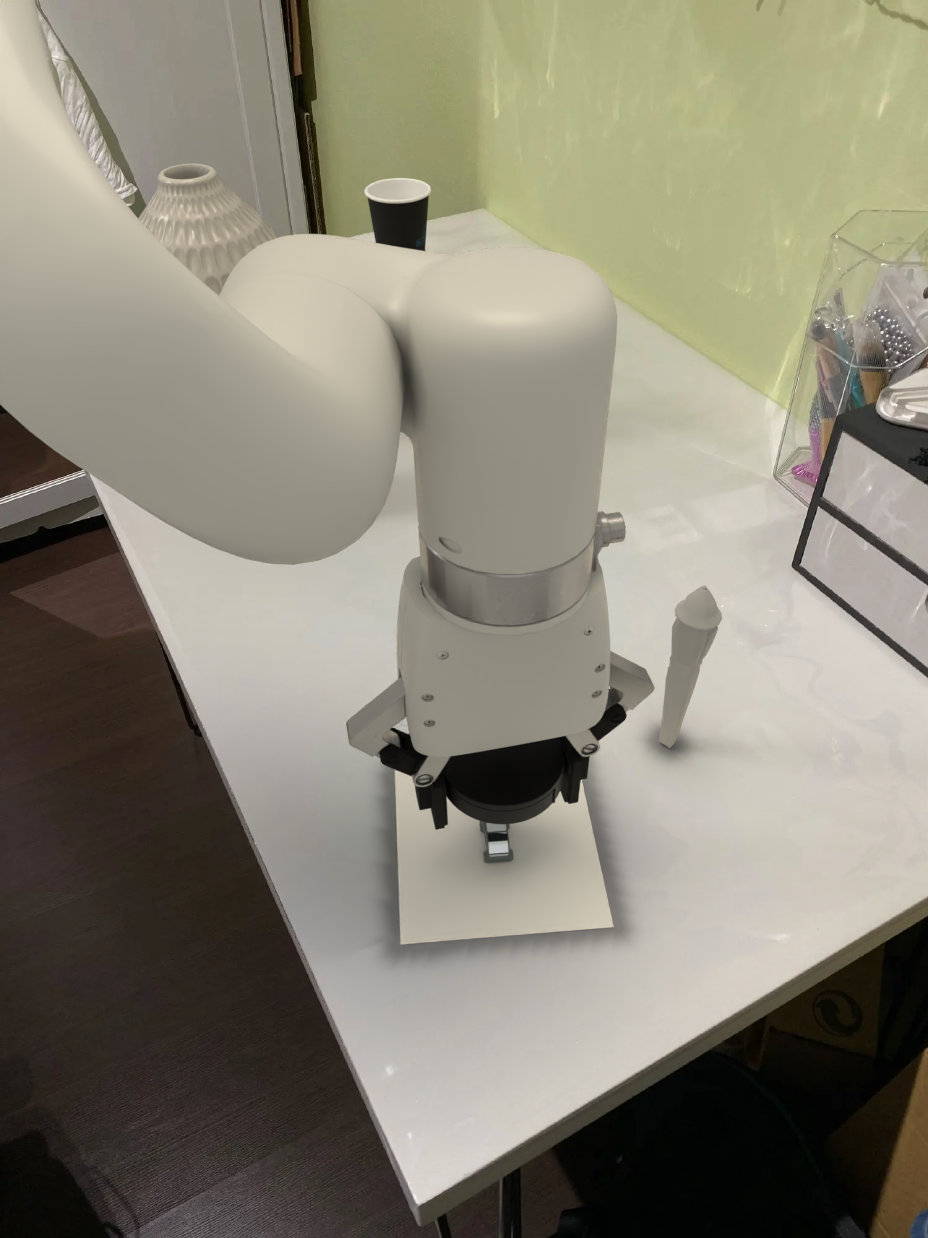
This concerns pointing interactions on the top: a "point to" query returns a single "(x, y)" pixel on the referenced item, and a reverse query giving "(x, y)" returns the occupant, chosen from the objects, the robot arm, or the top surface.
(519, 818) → the jar lid
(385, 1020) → the top surface
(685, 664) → the grey tapered bar
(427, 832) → the cream paper sheet
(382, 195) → the dixie cup
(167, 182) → the vase
